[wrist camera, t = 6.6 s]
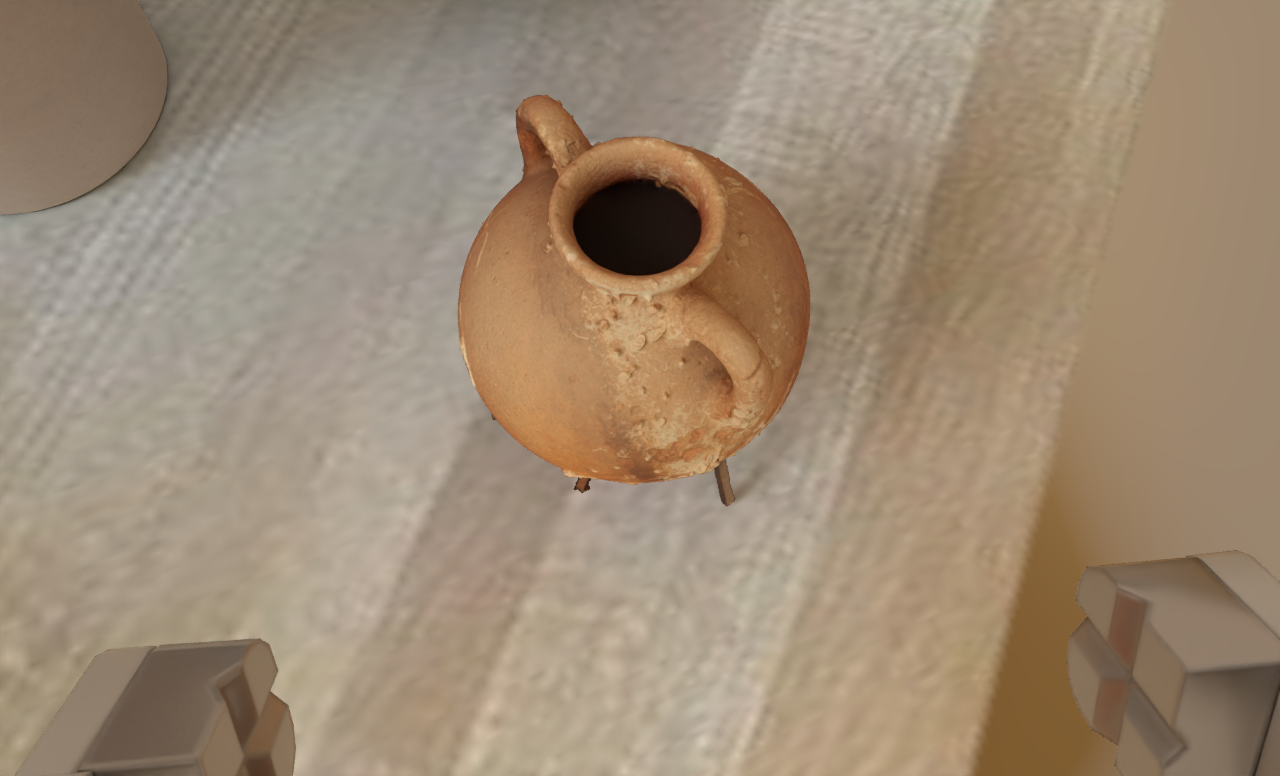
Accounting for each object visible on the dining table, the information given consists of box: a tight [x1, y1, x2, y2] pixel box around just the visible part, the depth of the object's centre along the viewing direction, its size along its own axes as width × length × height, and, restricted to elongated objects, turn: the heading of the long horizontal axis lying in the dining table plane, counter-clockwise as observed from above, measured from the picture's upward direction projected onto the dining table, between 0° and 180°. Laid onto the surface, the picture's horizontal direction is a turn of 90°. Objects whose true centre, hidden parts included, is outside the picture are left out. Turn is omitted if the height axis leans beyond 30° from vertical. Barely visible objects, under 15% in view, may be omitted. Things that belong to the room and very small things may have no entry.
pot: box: [458, 95, 810, 506], centre depth 17 cm, size 6×8×6 cm
